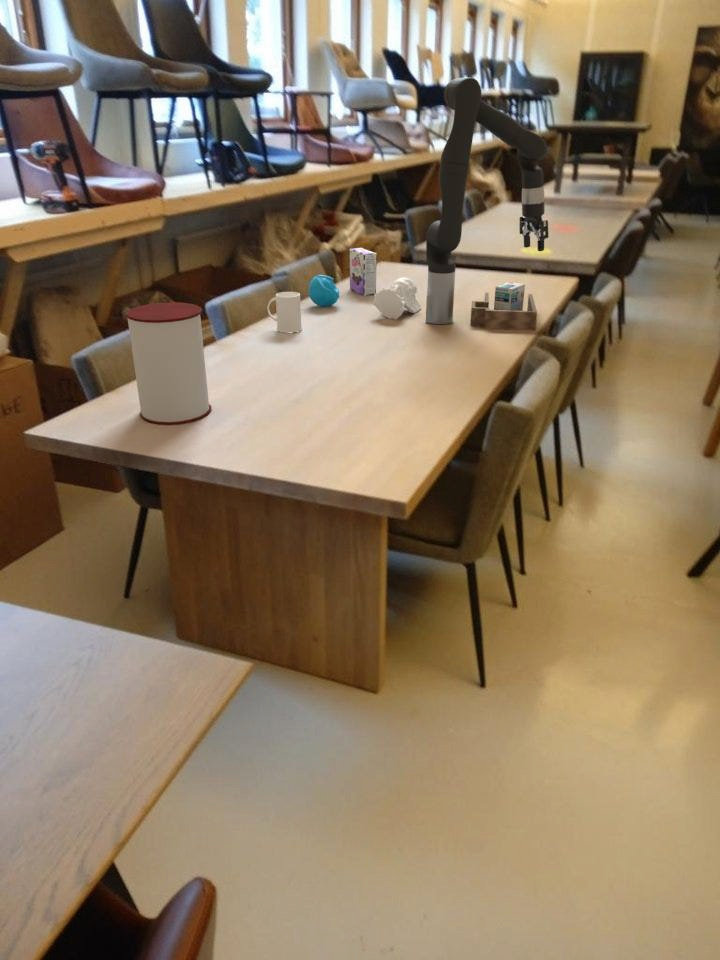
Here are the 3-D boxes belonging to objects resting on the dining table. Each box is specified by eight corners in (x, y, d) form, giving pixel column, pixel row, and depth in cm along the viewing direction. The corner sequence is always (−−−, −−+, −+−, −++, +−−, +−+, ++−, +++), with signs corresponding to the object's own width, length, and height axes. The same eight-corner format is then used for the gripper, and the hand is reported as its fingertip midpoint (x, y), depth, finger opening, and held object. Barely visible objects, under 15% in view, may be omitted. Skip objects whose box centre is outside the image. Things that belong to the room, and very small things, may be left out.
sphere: (338, 310, 276) (338, 278, 270) (307, 310, 276) (306, 278, 271) (340, 302, 286) (339, 271, 281) (310, 302, 287) (309, 271, 281)
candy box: (349, 289, 307) (348, 248, 300) (362, 288, 309) (362, 247, 302) (363, 296, 296) (363, 253, 289) (376, 295, 298) (377, 252, 291)
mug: (263, 331, 250) (261, 295, 245) (275, 324, 257) (273, 289, 252) (295, 334, 246) (293, 298, 241) (306, 328, 254) (305, 292, 248)
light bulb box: (509, 319, 263) (512, 288, 258) (492, 316, 267) (494, 286, 262) (523, 313, 271) (525, 283, 266) (506, 311, 274) (508, 281, 270)
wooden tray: (470, 327, 253) (471, 310, 251) (471, 308, 278) (472, 292, 275) (535, 330, 251) (537, 312, 248) (530, 310, 275) (532, 294, 272)
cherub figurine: (367, 287, 262) (390, 271, 277) (370, 321, 268) (392, 304, 284) (402, 290, 257) (423, 273, 272) (403, 325, 263) (424, 306, 278)
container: (216, 399, 192) (207, 301, 181) (206, 424, 177) (195, 319, 165) (148, 400, 191) (135, 302, 180) (132, 425, 176) (116, 320, 165)
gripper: (512, 200, 260) (513, 248, 268) (535, 205, 248) (536, 254, 256) (530, 196, 262) (531, 243, 270) (554, 200, 250) (554, 249, 258)
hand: (533, 248), depth 263 cm, fingers open, 8 cm apart
